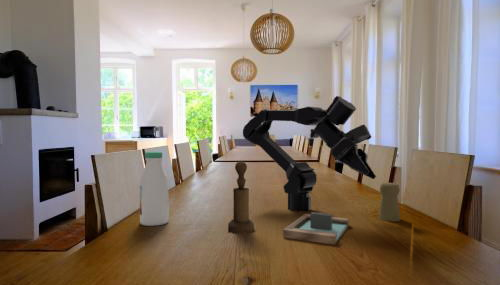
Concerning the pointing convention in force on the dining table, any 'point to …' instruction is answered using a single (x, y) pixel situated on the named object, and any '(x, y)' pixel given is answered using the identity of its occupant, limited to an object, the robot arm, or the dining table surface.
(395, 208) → the cork
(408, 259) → the dining table surface
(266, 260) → the dining table surface
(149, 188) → the milk bottle
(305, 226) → the cover plate
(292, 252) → the dining table surface
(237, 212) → the wooden pepper mill
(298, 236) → the wooden tray
